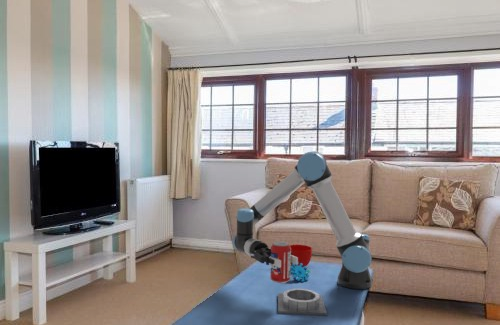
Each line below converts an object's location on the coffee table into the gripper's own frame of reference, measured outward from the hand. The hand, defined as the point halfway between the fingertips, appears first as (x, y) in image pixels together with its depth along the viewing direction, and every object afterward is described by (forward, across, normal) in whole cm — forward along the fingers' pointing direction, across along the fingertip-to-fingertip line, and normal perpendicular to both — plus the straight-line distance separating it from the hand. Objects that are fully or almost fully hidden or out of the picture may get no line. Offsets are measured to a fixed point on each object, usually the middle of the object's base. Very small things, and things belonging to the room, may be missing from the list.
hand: (288, 262), depth 161 cm
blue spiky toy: (-24, -26, -18) cm, 40 cm away
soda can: (-5, 0, -9) cm, 10 cm away
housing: (0, -6, -18) cm, 19 cm away
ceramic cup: (-41, -35, -18) cm, 57 cm away
